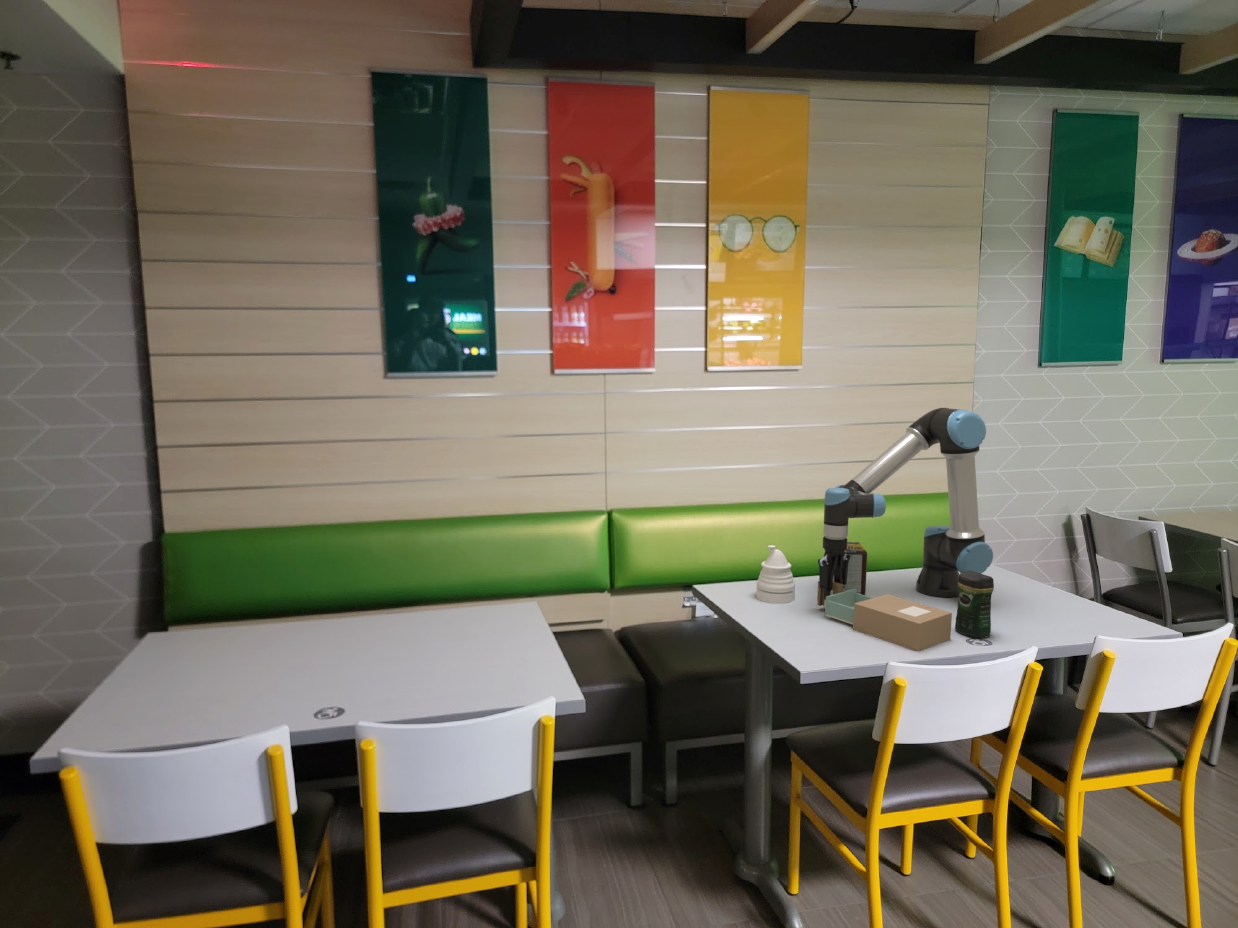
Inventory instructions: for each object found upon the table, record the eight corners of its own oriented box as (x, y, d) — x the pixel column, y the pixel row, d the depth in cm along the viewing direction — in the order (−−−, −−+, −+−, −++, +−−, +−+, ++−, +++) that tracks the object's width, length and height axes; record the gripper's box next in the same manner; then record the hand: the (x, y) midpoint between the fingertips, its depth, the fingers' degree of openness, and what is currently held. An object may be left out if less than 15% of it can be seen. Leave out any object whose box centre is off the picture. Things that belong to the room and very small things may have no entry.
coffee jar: (995, 637, 237) (1000, 575, 234) (974, 640, 234) (978, 578, 232) (970, 626, 246) (974, 567, 243) (949, 629, 243) (953, 569, 241)
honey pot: (765, 604, 266) (767, 551, 263) (750, 593, 278) (751, 542, 276) (801, 602, 269) (803, 549, 266) (784, 590, 281) (786, 540, 279)
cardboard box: (885, 618, 253) (886, 593, 251) (950, 639, 235) (952, 612, 234) (852, 628, 243) (854, 603, 242) (917, 651, 226) (919, 623, 224)
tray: (836, 601, 266) (837, 576, 265) (911, 625, 244) (912, 597, 243) (807, 609, 258) (808, 583, 257) (882, 634, 236) (884, 606, 235)
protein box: (857, 583, 290) (859, 541, 288) (865, 596, 275) (867, 552, 273) (827, 582, 291) (829, 540, 289) (834, 595, 276) (836, 551, 274)
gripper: (841, 531, 264) (838, 600, 267) (809, 538, 254) (806, 609, 257) (861, 535, 258) (857, 606, 261) (828, 542, 248) (824, 616, 251)
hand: (832, 608), depth 259 cm, fingers open, 3 cm apart
